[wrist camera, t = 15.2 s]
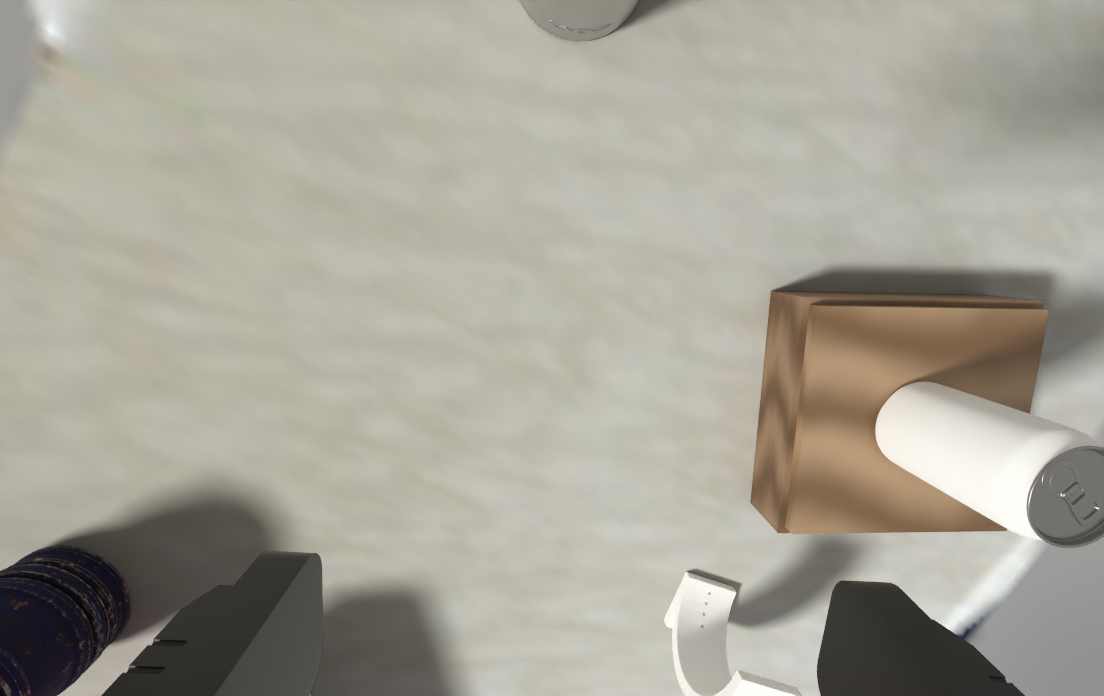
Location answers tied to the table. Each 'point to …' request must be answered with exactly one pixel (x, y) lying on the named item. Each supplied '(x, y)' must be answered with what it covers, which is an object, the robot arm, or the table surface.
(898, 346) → the podium
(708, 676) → the white curved piece
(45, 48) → the table surface
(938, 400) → the can
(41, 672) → the storage jar
